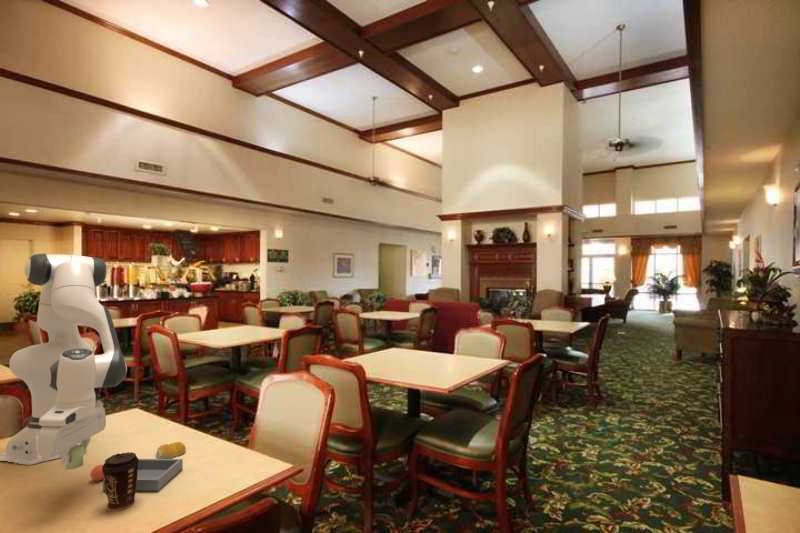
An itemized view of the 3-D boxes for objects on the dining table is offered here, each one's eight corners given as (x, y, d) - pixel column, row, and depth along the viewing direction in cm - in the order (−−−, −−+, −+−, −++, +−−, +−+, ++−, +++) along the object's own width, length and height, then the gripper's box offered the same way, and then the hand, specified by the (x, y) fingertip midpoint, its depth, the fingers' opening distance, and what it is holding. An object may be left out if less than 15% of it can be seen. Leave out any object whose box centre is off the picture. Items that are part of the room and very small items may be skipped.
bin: (103, 491, 127) (103, 479, 127) (133, 469, 141) (133, 458, 141) (158, 492, 126) (158, 480, 126) (182, 469, 140) (182, 458, 140)
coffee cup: (114, 496, 124) (114, 450, 124) (144, 495, 124) (145, 450, 125) (95, 514, 115) (95, 464, 115) (128, 512, 116) (128, 463, 116)
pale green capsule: (61, 468, 119) (61, 450, 119) (72, 462, 123) (73, 444, 123) (75, 469, 118) (76, 451, 118) (86, 462, 122) (87, 445, 122)
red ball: (86, 483, 131) (86, 468, 131) (97, 476, 136) (97, 462, 136) (101, 483, 131) (101, 468, 131) (111, 476, 136) (111, 462, 136)
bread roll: (189, 454, 153) (189, 442, 153) (161, 462, 146) (161, 450, 146) (180, 447, 159) (180, 436, 159) (153, 455, 152) (153, 443, 152)
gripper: (92, 397, 131) (90, 443, 131) (33, 421, 110) (31, 476, 110) (112, 398, 131) (111, 444, 131) (57, 422, 110) (55, 477, 110)
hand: (74, 459), depth 120 cm, fingers closed on pale green capsule, 4 cm apart
